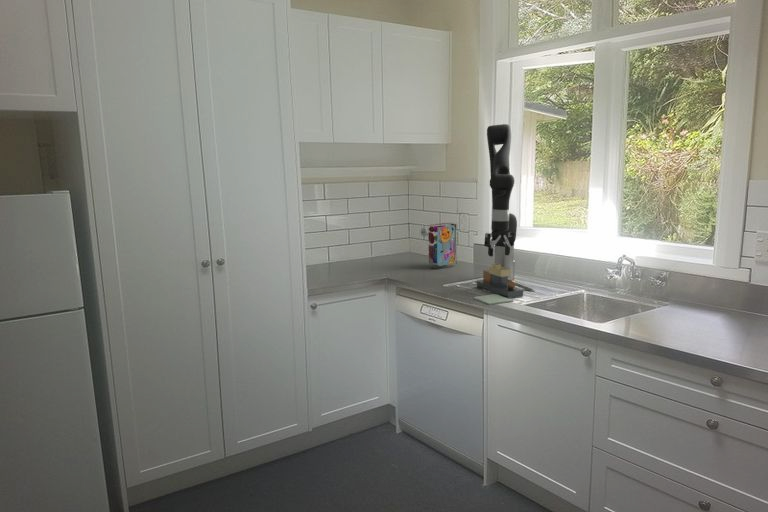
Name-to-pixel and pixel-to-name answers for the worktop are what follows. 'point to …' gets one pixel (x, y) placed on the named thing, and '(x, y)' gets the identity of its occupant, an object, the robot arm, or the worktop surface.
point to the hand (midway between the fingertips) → (498, 255)
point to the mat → (493, 299)
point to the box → (441, 244)
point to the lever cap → (499, 270)
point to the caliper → (522, 286)
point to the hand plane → (499, 285)
